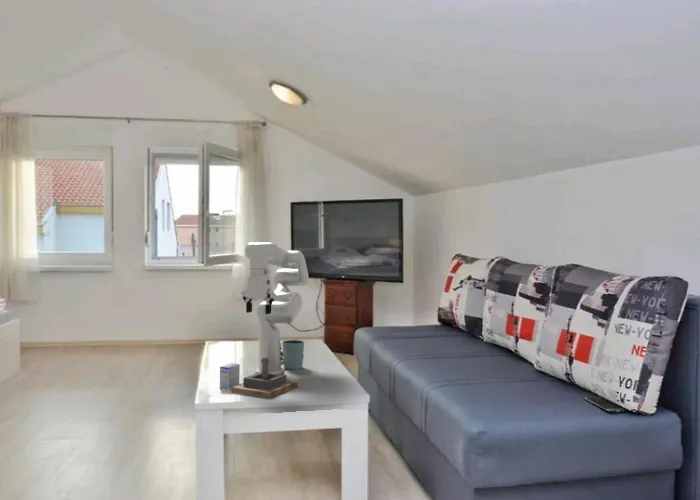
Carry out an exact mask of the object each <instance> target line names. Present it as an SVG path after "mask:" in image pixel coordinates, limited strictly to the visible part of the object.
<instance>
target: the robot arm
mask: <svg viewBox="0 0 700 500" xmlns="http://www.w3.org/2000/svg"><path fill="white" fill-rule="evenodd" d="M244 254H245V257H246V258H247V259H248V260H249V275H248V277H247V283H246V285H247V286H246V289H245V290H243V291H241V292H240V294H241V296H242V299H243V301H244V303H245V310H246V313H247V314H248V313H252V312H253V303H252V301H253V300H261V301H262V302H260V303H258V305H257V307H256V317H257V324H258V368H256V369H255V370H254V374H257V373H260V372H262V363H261V359H262V358H263V357H267V358H268V359H269V363H268V373H273V372H281V374H283V373H284V372H285V371H284V369H285V368H284V367H283V368H282V365H283V366H284V364H285V361H284V359H283V360H281V352H280V351H281V350H280V344H281V330H280V329H279V327H278V325H277V324H292V323H294V322H295V320H296V319H297V317H298V315H299V314H300V312H301V311H302V307H303V298H302V296H301V294H300V293H298V292H295V291H294V292H291V290H290V289H289V287H305V286H306V285H308V283H309V272H308V271H309V270H308V266H307V263H306V258H305V255H304V254H303V252H302V251H300V250H285V249H283V248H281V247H279V246H278V245H277V244H276V243H275V242H267V241H266V242H264V241H263V242H260V241H259V242H258V241H256V242H253V241H251V242H248V243H247V244H246V246H245V249H244ZM269 265H270V266H271V265H272V266H274V267H277V268H280V269H277V270H276V271H275V272H274V273H273V277H272V278H273V279H272V281H271V276H270V275H269V274H271V273H270V272H271V271H270V269H269ZM272 286H273V287H272ZM272 288H273V290H272Z"/></svg>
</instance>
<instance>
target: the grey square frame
mask: <svg viewBox="0 0 700 500" xmlns="http://www.w3.org/2000/svg"><path fill="white" fill-rule="evenodd" d="M286 380H287V375H286V374H282V373H281V372H273V373H268V380H265V379H262V372H260V373H254V374H251V375H248V376H246V377H243V382H242V383H243V386H249V387H256V388H263V389H271V388H274V387H276V386H279V385H281V384H284V383H286Z"/></svg>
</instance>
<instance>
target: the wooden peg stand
mask: <svg viewBox="0 0 700 500" xmlns="http://www.w3.org/2000/svg"><path fill="white" fill-rule="evenodd" d="M261 363H262V379H265V380H268V363H269V359H268V358H267V357H263V358H262V359H261ZM298 383H299V381H298V380H290V379H286V383H284V384H281V385H279V386H276V387H274V388H271V389H263V388H256V387H249V386H243V382H241V383H239V384H238V385H235V386H233V387H231V388H230V393H234V394H240V395H244V396H245V395H247V396H253V397H258V398H265V399H271V398H273V397H276V396H278V395H281V394H283V393H285V392H288V391H290V390H292V389H295V388H297V387H298V386H299V385H298Z"/></svg>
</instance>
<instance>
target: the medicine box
mask: <svg viewBox="0 0 700 500" xmlns="http://www.w3.org/2000/svg"><path fill="white" fill-rule="evenodd" d="M240 367H241V364H239V363H237V362H236V363H234V362H230V363H227V364H224V365H221V366H220V367H219V388H220V389H225V390H231V387H233V386H235V385H238V384H240Z"/></svg>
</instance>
